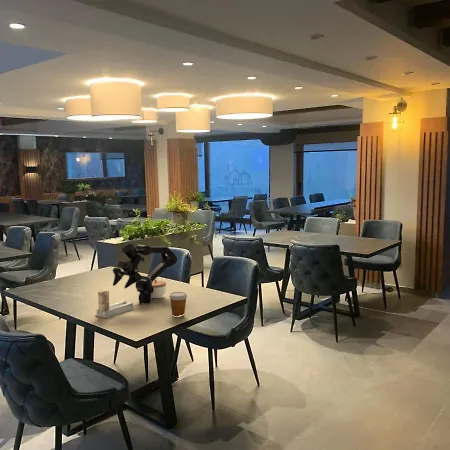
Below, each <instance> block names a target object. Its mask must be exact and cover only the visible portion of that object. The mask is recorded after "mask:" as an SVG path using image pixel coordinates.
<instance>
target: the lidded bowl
mask: <svg viewBox="0 0 450 450" xmlns="http://www.w3.org/2000/svg"><path fill="white" fill-rule="evenodd" d="M152 287H153V288H154V291H153V293H151V298H160V299H162V298H161V297H164V295H165V294H166V290H167V282H166V281H164V280H159V279H158V280H157V279H155V280H154V281H153V282H152Z"/></svg>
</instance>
